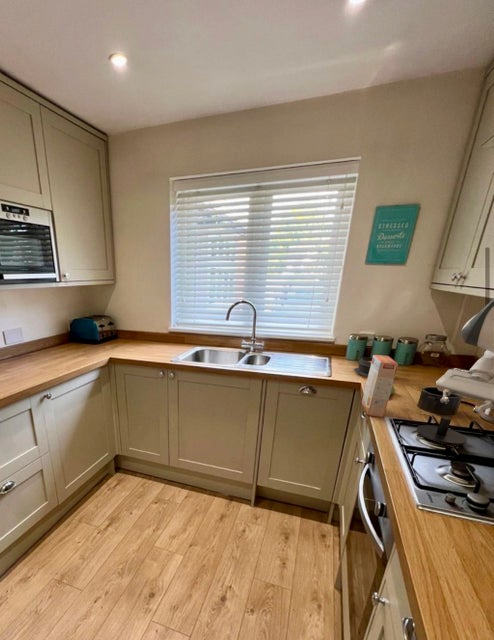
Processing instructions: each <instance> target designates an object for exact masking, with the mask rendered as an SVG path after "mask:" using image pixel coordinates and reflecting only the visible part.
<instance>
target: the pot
mask: <svg viewBox="0 0 494 640" xmlns="http://www.w3.org/2000/svg"><path fill="white" fill-rule="evenodd" d="M420 391H421V392H420V394H419V398H418V401H417V404H416V406H417V408H418V409H419V410H422V411H424V412H427V413H430V414H434V415H440V416H446V417H448V416H449V417H450V416H455V415H457V414H458V411H459V408H460V406H461V403H462V399H463V397H461V396H457V395H453V394H450V395H449V396H448V395H447V397H448V398H449V402H447V404H444V403H441V401H440V400H441V398H442V397H443V392H442V391H439V390H438V389H437V387H436V386H435V387H434V386H433V387H432V386H428V387H427V386H426V387H422V388H421V390H420ZM430 414H425V413H424V415H425V416H428V417H430ZM434 418H435V419H436V418H437V417H435V416H434Z"/></svg>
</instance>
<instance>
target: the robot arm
mask: <svg viewBox="0 0 494 640" xmlns="http://www.w3.org/2000/svg"><path fill="white" fill-rule="evenodd" d="M460 336H461V339H462V341H463V342H464V343H465V344H467V345H471V346H474V347H478V348H481V349H483V350H485V351H484V353H483V356H482V357H480V358H479V359H478V360H476V362H475V363H474V364H473V365H472V366H471V368H469V370H467V369H461V368H456V367H455V368H451V369H447V371H446V372H445V373H444V374H443V375H442V376H441V377H440V378H438V379H437V380H436V382H435V387H436V388H437V389H438V390H439V391H442V392H443V397H442V398H441V400H440V401H441V403H444V404H447V402H449V398H448V397H447V395H448V396H449V395H450V394H453V395H457V396H461V397H462V398H464V399H468V400H472V401H475V402H478V403H481V404H482V405H475V407H474V408H473V409H472V410H473V413H474V414H476V415H477V414H478V415H480V414H482V412H483V411H486V410H488V409H492V407H494V297H493V298H492V299H491V300H490V301H489V302H488V303H487V304H486V305H485V306H484V307H483V308H481V310H480V311H479V312H478V313H477V314H475V315H474V316H472V317H471V318H470V319H469V320H468V321H466V323H465V324H464V325H463V327H462V329H461V331H460Z"/></svg>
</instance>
